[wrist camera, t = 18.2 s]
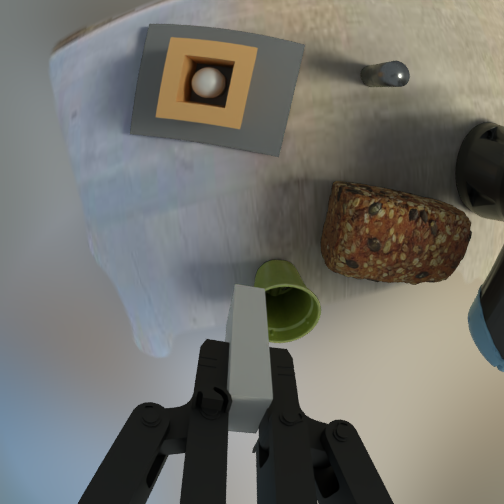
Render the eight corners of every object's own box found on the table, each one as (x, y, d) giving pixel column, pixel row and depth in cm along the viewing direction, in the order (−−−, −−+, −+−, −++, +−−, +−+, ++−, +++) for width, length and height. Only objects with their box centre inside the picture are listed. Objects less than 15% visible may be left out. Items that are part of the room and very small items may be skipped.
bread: (443, 197, 38) (483, 224, 29) (422, 259, 43) (453, 295, 34) (330, 173, 37) (355, 198, 28) (314, 247, 42) (330, 289, 33)
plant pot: (321, 278, 44) (335, 317, 36) (272, 312, 47) (276, 353, 39) (282, 235, 41) (290, 269, 33) (230, 275, 44) (227, 314, 36)
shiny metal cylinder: (383, 70, 30) (411, 67, 23) (378, 90, 31) (406, 90, 25) (363, 62, 30) (388, 56, 23) (358, 82, 31) (383, 80, 24)
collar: (255, 58, 29) (257, 47, 22) (241, 123, 32) (239, 129, 26) (185, 48, 28) (170, 37, 22) (173, 113, 31) (155, 117, 25)
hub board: (302, 46, 29) (316, 34, 22) (277, 154, 36) (284, 168, 29) (153, 26, 27) (131, 11, 20) (134, 132, 34) (109, 141, 27)
